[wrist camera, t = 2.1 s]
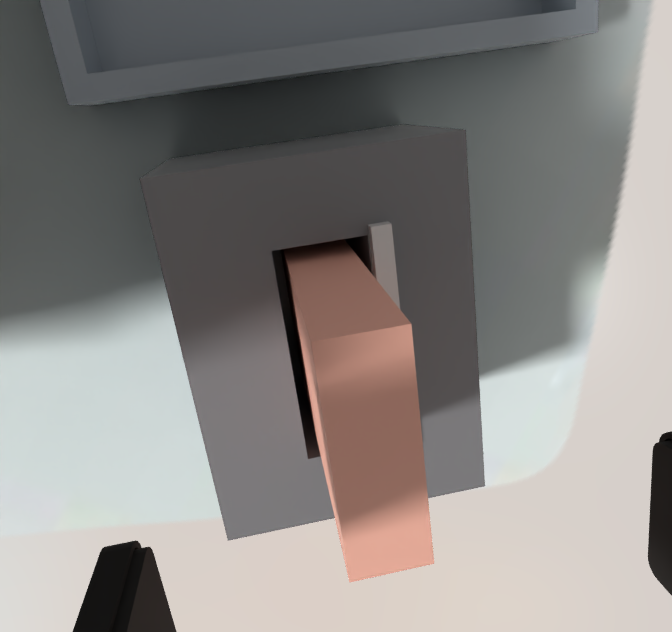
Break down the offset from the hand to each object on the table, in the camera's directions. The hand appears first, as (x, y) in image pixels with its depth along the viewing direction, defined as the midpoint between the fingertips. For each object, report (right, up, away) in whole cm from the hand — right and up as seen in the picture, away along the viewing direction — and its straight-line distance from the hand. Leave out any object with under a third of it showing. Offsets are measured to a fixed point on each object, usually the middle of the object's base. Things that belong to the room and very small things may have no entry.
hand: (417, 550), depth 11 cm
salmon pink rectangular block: (-2, +5, +13) cm, 14 cm away
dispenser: (-3, +5, +14) cm, 15 cm away
